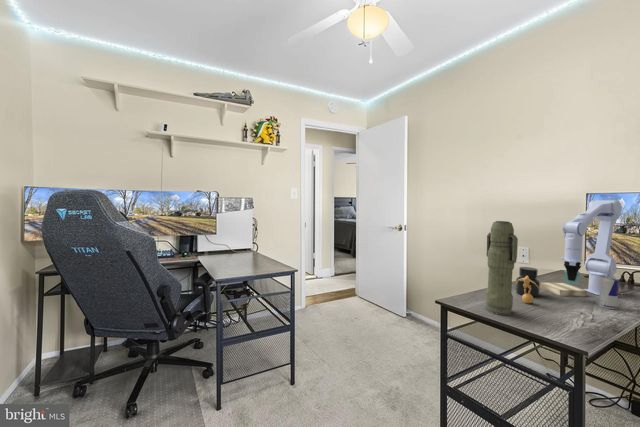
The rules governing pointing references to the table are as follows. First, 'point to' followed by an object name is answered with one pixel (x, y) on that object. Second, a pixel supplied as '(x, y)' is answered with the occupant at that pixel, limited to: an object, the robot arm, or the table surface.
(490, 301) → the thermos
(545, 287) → the birch block
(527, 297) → the figurine
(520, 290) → the ink bottle
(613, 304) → the energy drink
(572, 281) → the teal cube
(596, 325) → the table surface
